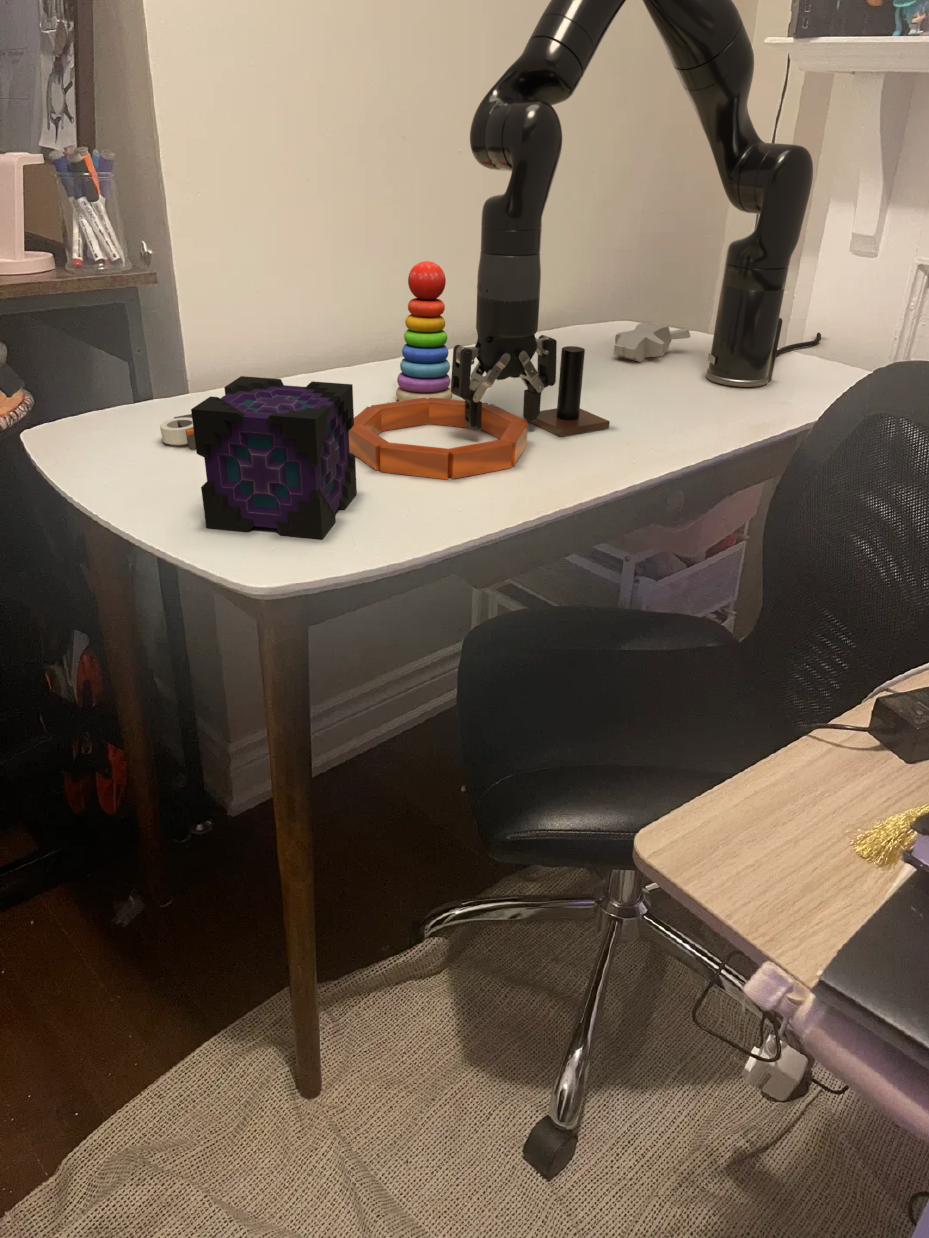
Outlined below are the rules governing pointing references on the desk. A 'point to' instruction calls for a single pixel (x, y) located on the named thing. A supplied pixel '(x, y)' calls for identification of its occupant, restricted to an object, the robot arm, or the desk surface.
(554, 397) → the desk surface
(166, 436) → the tape dispenser
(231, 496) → the energy cube
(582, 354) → the post
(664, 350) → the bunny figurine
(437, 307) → the stacking toy
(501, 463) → the ring
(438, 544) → the desk surface
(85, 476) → the desk surface
